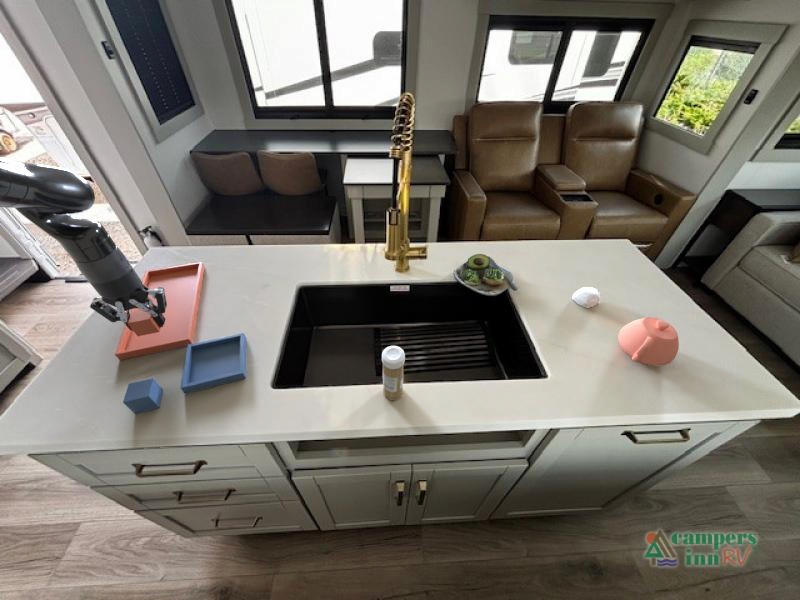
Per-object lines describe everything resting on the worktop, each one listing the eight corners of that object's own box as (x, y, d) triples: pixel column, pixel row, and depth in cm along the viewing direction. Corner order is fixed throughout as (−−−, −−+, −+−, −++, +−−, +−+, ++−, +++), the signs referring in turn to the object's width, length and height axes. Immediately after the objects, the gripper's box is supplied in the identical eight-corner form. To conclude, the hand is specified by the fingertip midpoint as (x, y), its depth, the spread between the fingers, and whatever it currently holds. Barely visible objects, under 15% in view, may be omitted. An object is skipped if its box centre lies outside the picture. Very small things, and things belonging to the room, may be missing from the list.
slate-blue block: (134, 413, 67) (122, 402, 64) (139, 395, 70) (128, 383, 67) (159, 407, 68) (148, 396, 65) (163, 389, 71) (153, 377, 68)
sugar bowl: (675, 353, 82) (701, 325, 75) (655, 384, 75) (682, 356, 68) (625, 326, 89) (645, 298, 82) (602, 352, 82) (622, 324, 75)
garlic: (583, 290, 100) (588, 280, 97) (603, 302, 96) (609, 293, 93) (566, 298, 97) (571, 289, 94) (587, 312, 93) (592, 302, 90)
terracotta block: (137, 336, 76) (127, 323, 73) (141, 323, 79) (132, 310, 76) (159, 332, 77) (150, 319, 74) (162, 319, 80) (153, 306, 77)
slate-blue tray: (184, 393, 70) (180, 388, 69) (191, 350, 79) (187, 344, 78) (246, 378, 74) (243, 373, 72) (246, 338, 82) (243, 332, 81)
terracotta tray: (119, 360, 76) (114, 354, 75) (149, 276, 100) (145, 270, 98) (192, 344, 80) (189, 339, 79) (204, 267, 104) (202, 261, 102)
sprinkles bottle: (407, 392, 72) (409, 354, 63) (392, 404, 70) (392, 367, 61) (393, 379, 74) (393, 341, 65) (378, 391, 72) (376, 353, 63)
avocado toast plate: (529, 283, 102) (534, 271, 99) (497, 309, 93) (501, 297, 89) (479, 256, 112) (482, 245, 109) (446, 277, 103) (447, 265, 100)
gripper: (58, 288, 62) (110, 345, 73) (144, 274, 65) (181, 331, 77) (73, 266, 67) (119, 322, 78) (152, 254, 71) (185, 310, 82)
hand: (150, 326), depth 78 cm, fingers closed on terracotta block, 4 cm apart
